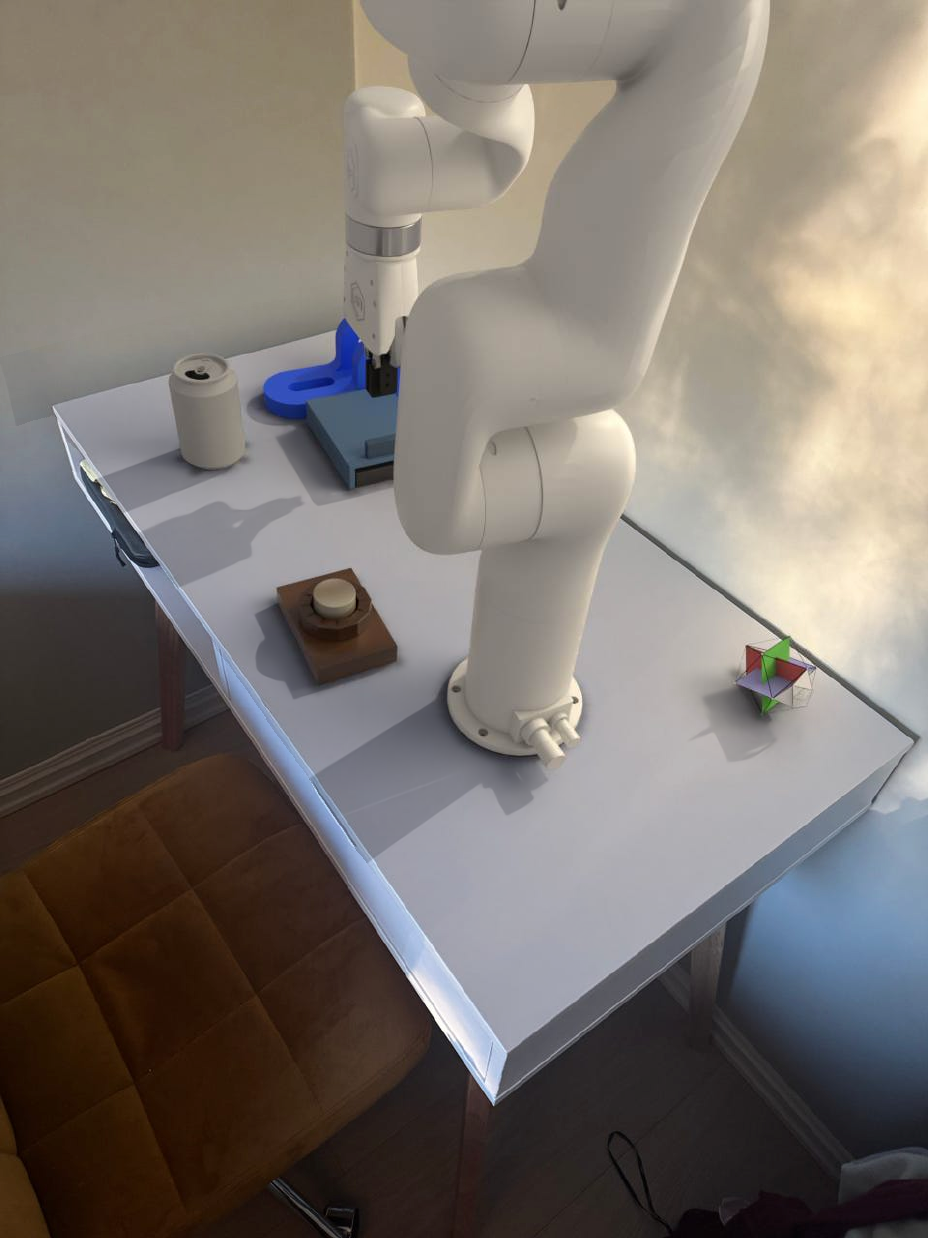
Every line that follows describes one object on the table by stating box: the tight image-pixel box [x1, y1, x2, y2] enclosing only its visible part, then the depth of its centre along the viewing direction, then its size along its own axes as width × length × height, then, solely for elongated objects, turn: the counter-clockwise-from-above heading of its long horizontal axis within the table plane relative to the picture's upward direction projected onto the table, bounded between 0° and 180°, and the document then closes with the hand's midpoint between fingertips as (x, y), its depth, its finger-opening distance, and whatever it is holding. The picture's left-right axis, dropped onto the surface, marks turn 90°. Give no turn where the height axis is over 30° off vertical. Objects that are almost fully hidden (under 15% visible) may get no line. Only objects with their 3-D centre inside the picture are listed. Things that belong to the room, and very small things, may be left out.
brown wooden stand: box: [275, 567, 398, 686], centre depth 88 cm, size 12×8×4 cm, turn 26°
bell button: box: [313, 579, 356, 620], centre depth 87 cm, size 4×4×2 cm
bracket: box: [262, 317, 401, 420], centre depth 117 cm, size 18×8×9 cm, turn 115°
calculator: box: [355, 460, 394, 488], centre depth 111 cm, size 14×9×2 cm, turn 26°
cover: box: [306, 389, 398, 490], centre depth 110 cm, size 15×11×5 cm
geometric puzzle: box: [733, 634, 818, 716], centre depth 85 cm, size 7×7×8 cm
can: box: [168, 352, 246, 471], centre depth 105 cm, size 8×8×12 cm
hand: (381, 391), depth 103 cm, fingers closed
